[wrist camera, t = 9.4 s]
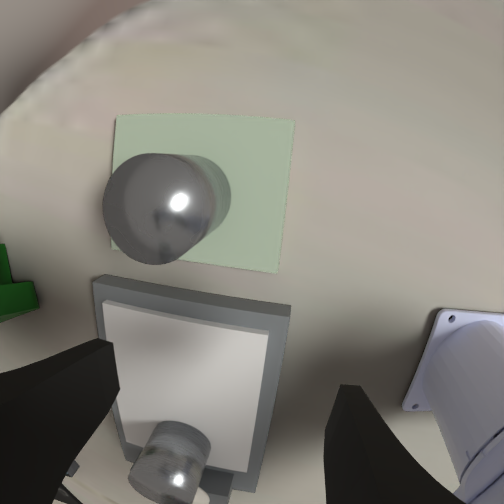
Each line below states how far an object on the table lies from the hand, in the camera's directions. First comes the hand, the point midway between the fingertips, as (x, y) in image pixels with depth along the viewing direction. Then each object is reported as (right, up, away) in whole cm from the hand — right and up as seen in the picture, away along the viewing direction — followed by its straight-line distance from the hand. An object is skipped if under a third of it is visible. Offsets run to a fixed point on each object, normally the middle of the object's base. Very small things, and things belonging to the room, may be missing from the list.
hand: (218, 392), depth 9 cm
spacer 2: (-4, -10, +11) cm, 15 cm away
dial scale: (-4, -7, +12) cm, 14 cm away
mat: (-2, +8, +8) cm, 11 cm away
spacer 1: (-2, +7, +8) cm, 11 cm away
